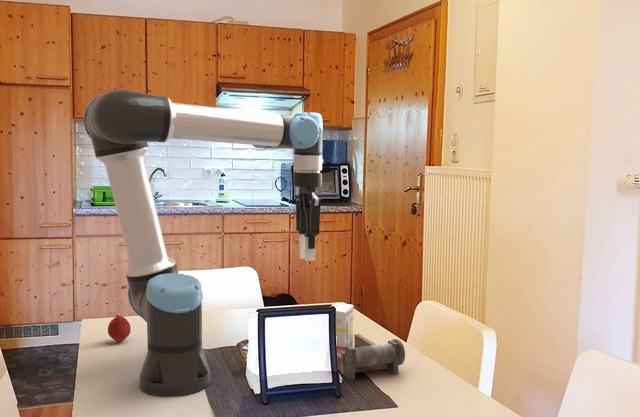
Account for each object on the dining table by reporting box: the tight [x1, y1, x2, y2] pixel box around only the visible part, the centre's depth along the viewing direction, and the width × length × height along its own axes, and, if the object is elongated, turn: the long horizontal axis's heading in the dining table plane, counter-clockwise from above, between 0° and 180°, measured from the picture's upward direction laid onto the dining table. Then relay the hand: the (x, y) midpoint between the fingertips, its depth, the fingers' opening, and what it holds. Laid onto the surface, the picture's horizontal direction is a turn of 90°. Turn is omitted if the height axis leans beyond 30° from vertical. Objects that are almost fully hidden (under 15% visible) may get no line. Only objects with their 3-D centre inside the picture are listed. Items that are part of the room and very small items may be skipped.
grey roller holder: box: [337, 333, 406, 381], centre depth 148 cm, size 13×22×8 cm, turn 23°
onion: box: [107, 312, 131, 344], centre depth 162 cm, size 6×6×8 cm
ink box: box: [332, 302, 354, 354], centre depth 156 cm, size 9×5×12 cm, turn 162°
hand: (307, 259), depth 163 cm, fingers open, 3 cm apart
